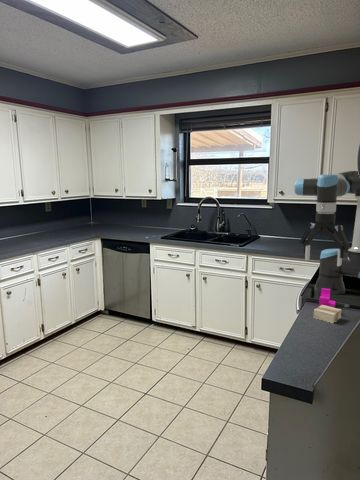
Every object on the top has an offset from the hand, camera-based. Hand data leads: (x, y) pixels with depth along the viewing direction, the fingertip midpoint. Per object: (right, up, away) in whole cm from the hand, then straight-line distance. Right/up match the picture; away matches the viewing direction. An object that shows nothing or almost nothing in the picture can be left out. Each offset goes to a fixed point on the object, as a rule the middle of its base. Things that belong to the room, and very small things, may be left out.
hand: (322, 262), depth 148 cm
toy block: (+6, -22, +10) cm, 25 cm away
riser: (+1, -24, -3) cm, 24 cm away
